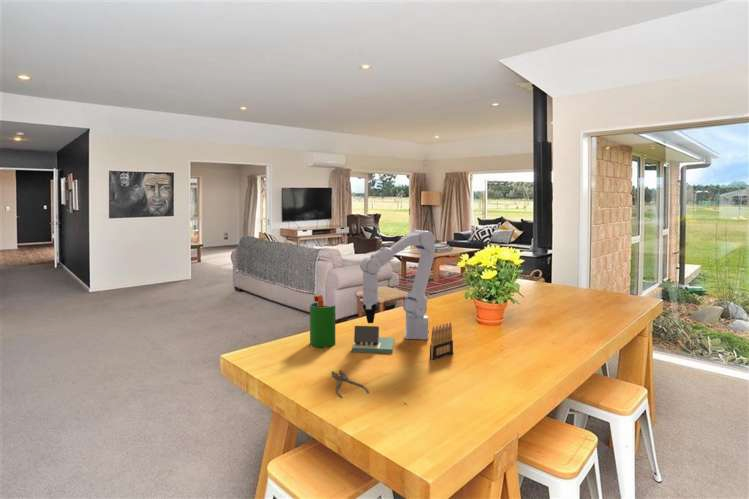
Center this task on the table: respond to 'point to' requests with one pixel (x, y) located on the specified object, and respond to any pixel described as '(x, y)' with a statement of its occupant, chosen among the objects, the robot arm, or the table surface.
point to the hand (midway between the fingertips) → (370, 322)
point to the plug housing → (366, 334)
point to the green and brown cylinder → (322, 323)
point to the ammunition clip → (441, 342)
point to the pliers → (344, 377)
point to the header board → (375, 346)
